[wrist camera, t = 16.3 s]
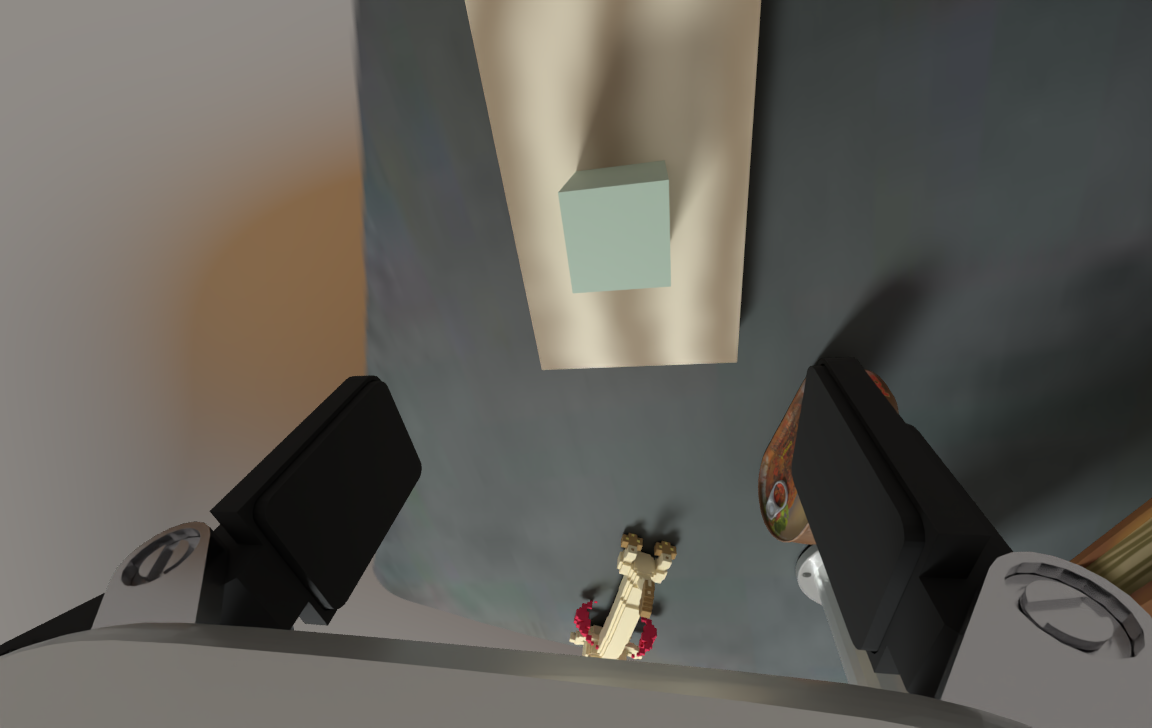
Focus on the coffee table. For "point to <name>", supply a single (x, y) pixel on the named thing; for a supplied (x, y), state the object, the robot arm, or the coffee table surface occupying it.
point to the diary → (1125, 556)
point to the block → (617, 227)
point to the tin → (790, 476)
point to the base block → (625, 160)
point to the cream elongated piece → (626, 604)
